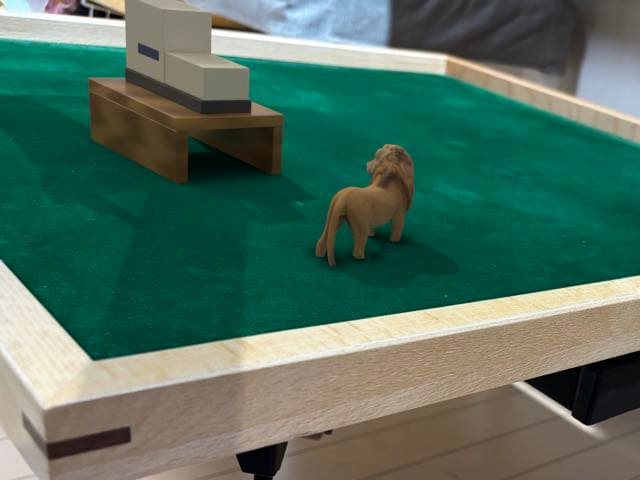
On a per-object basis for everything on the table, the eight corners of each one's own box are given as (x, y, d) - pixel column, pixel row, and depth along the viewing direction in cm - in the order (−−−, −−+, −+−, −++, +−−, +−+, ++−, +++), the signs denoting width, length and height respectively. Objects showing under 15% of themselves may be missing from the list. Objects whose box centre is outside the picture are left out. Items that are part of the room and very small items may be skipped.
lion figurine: (365, 228, 85) (374, 134, 81) (417, 241, 85) (429, 148, 80) (301, 274, 72) (308, 165, 68) (362, 289, 72) (373, 181, 67)
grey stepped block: (124, 79, 89) (122, -6, 85) (175, 80, 93) (174, -2, 89) (201, 114, 82) (202, 23, 79) (251, 112, 87) (254, 26, 83)
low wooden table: (91, 149, 90) (87, 77, 87) (196, 144, 99) (196, 77, 96) (176, 195, 83) (176, 118, 80) (280, 184, 92) (284, 114, 89)
